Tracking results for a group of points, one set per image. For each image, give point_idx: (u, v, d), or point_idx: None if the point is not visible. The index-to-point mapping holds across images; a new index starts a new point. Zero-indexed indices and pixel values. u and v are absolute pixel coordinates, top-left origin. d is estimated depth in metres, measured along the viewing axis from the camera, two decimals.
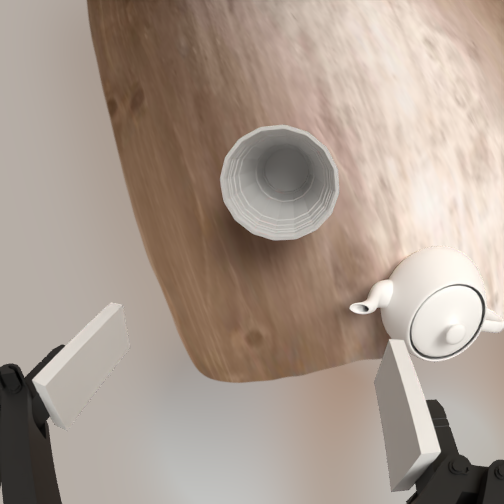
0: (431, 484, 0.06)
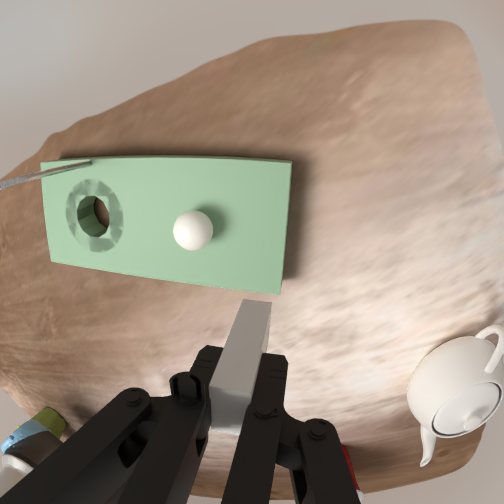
0: (242, 434, 0.09)
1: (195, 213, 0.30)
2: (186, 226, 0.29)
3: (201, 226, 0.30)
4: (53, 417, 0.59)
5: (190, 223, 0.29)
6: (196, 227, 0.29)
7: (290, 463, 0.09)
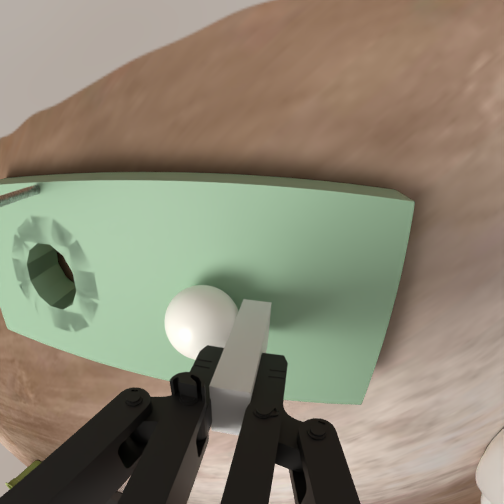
0: (242, 434, 0.09)
1: (199, 297, 0.15)
2: (174, 319, 0.15)
3: (200, 327, 0.14)
4: None
5: (181, 316, 0.15)
6: (189, 327, 0.14)
7: (289, 463, 0.09)
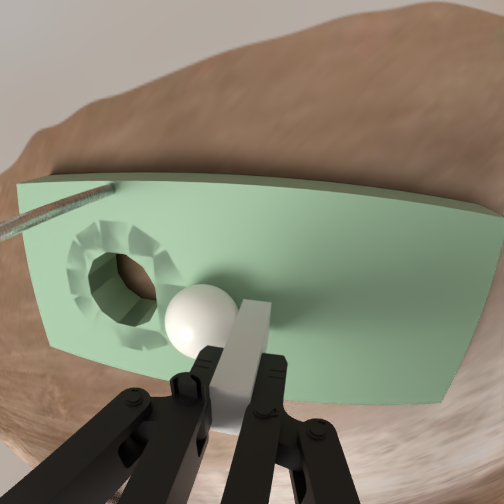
0: (242, 434, 0.09)
1: (196, 285, 0.16)
2: None
3: None
4: None
5: None
6: None
7: (290, 463, 0.09)
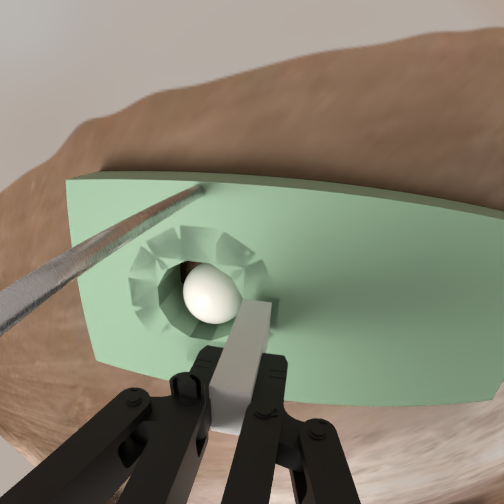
0: (242, 434, 0.09)
1: (214, 268, 0.19)
2: (194, 288, 0.18)
3: (217, 293, 0.18)
4: None
5: (200, 285, 0.18)
6: (208, 293, 0.18)
7: (290, 463, 0.09)
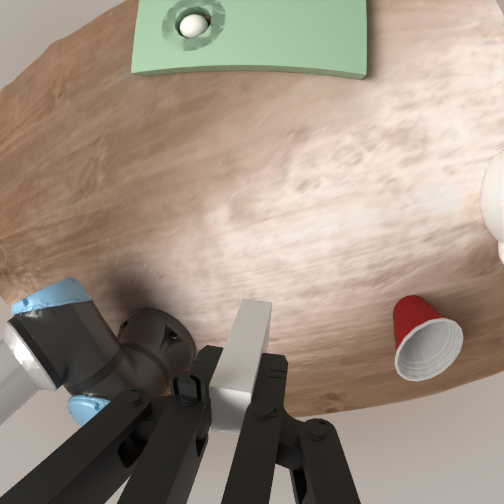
0: (242, 434, 0.09)
1: None
2: (182, 20, 0.35)
3: (188, 18, 0.34)
4: None
5: (184, 18, 0.34)
6: (185, 19, 0.34)
7: (290, 463, 0.09)
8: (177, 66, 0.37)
